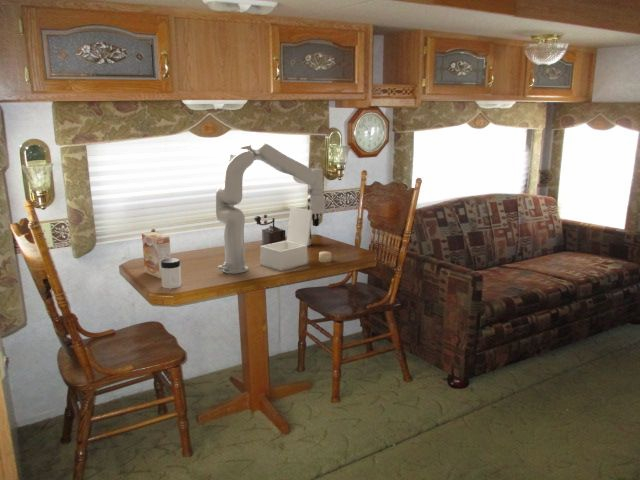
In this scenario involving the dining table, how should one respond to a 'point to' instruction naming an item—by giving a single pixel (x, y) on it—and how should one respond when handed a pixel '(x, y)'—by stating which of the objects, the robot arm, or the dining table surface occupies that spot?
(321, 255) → the beige egg-shaped stone
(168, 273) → the jar
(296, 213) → the box lid
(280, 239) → the brown coffee grinder
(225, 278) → the dining table surface
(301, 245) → the carton
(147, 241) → the coffeecake box
